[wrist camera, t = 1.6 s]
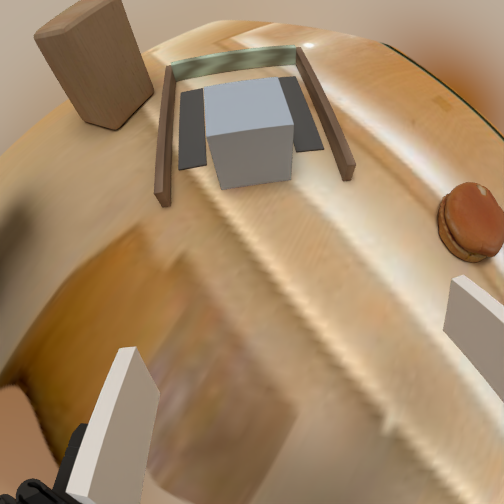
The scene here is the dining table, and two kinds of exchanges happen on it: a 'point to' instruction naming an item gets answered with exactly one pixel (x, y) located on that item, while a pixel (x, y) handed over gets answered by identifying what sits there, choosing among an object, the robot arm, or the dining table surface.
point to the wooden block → (96, 61)
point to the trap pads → (194, 129)
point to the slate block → (249, 132)
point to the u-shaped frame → (239, 62)
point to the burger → (471, 222)
